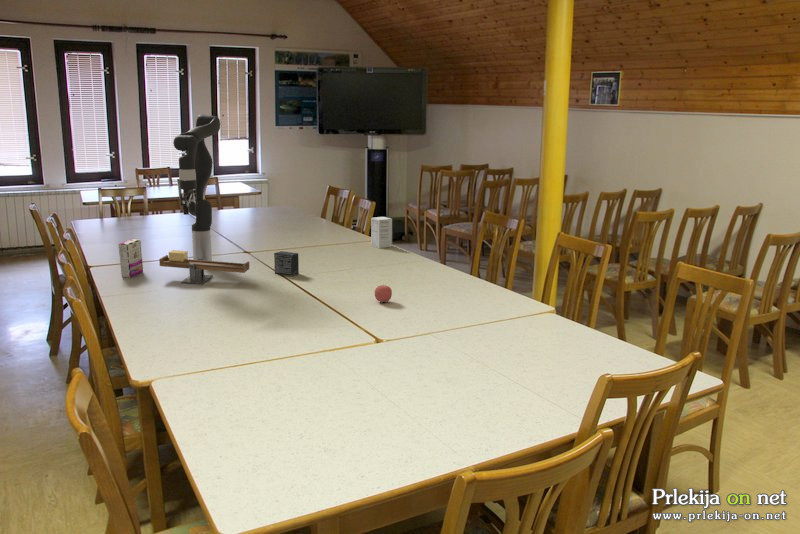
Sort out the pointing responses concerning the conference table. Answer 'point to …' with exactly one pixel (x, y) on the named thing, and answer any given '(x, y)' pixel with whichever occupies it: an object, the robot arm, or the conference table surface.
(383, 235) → the supplement box
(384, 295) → the apple
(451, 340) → the conference table surface
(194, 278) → the pivot stand
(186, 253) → the wooden block
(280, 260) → the small box
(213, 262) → the beam
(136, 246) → the candy bar box
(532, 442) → the conference table surface
